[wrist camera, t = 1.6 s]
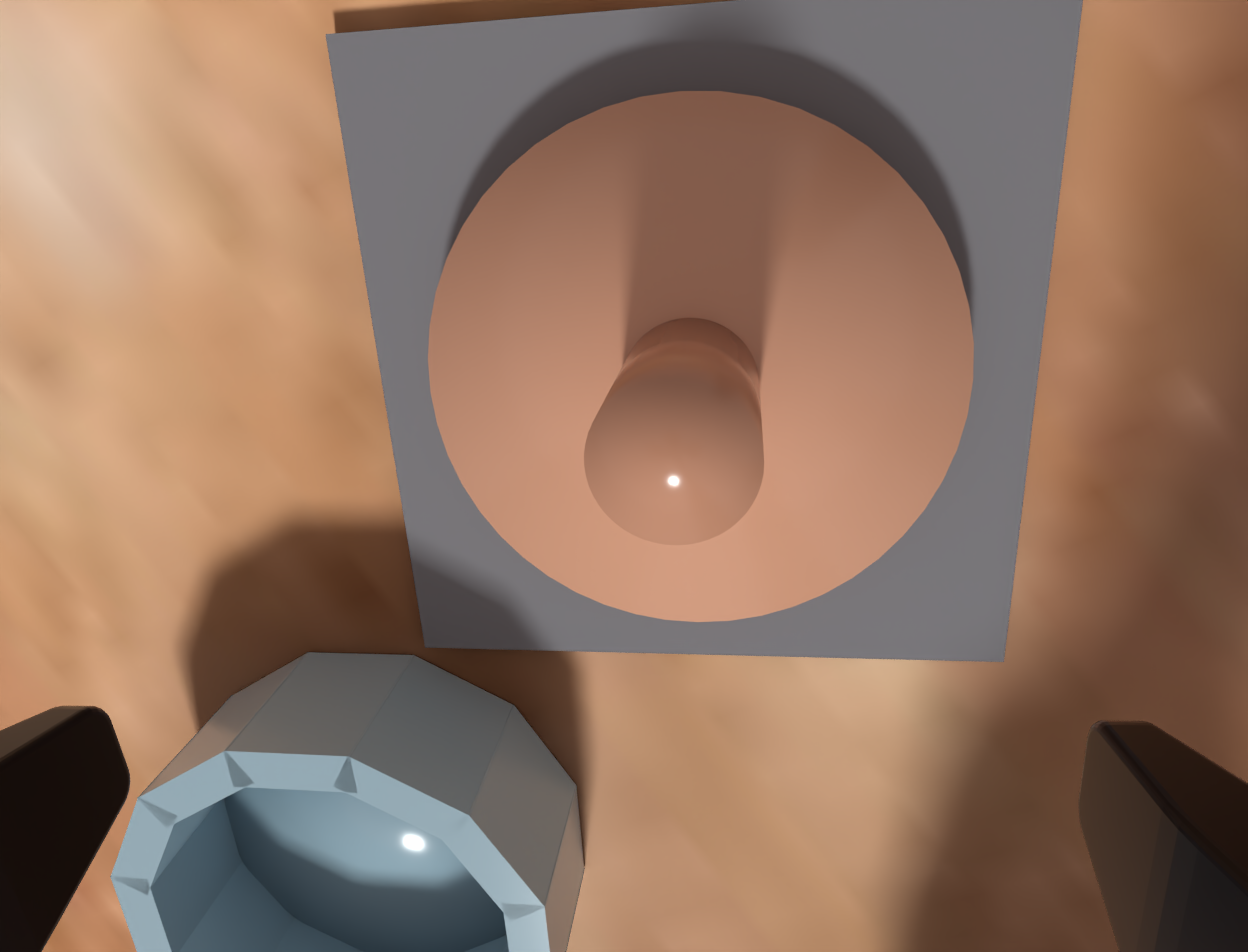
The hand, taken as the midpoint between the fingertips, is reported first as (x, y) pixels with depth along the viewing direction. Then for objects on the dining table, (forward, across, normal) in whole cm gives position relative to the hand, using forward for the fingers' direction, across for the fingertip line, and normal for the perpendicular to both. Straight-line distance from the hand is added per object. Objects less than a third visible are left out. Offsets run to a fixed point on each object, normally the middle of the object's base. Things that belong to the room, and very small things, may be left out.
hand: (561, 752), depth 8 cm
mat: (+12, 0, 0) cm, 12 cm away
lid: (+12, 0, 0) cm, 12 cm away
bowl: (+12, +9, +12) cm, 19 cm away
